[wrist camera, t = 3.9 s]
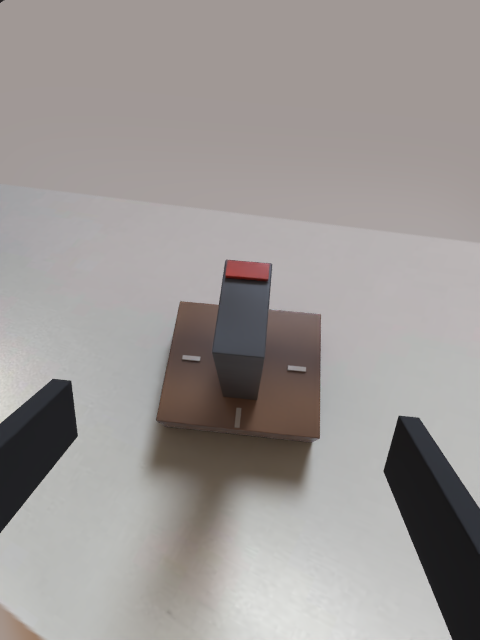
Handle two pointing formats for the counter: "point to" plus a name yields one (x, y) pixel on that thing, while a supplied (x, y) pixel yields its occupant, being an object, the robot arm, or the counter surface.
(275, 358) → the dock
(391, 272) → the counter surface
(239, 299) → the block
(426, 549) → the robot arm
